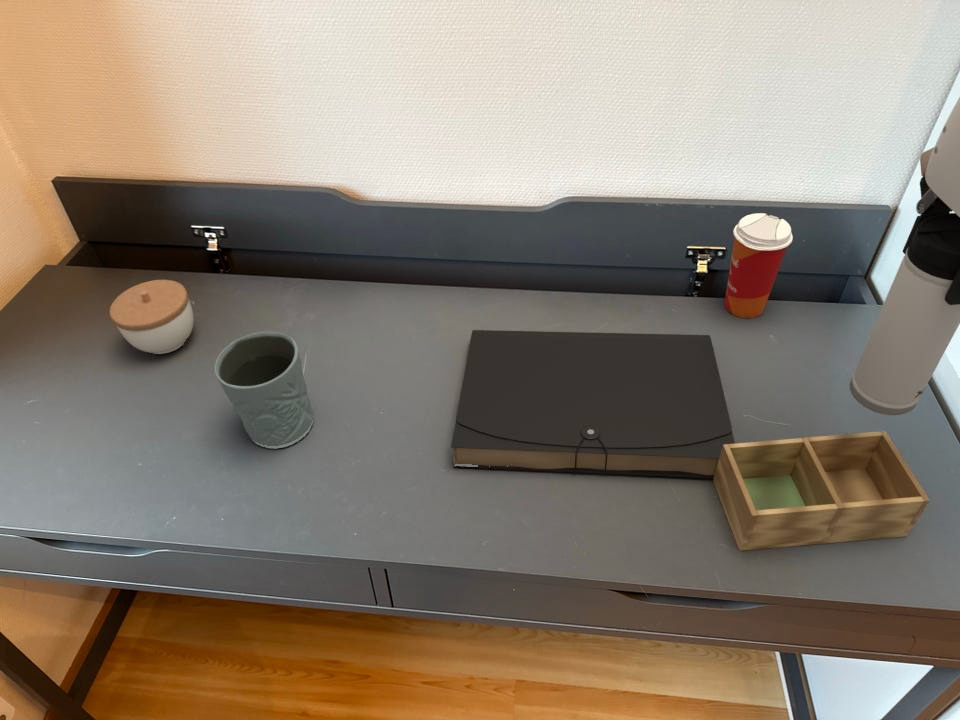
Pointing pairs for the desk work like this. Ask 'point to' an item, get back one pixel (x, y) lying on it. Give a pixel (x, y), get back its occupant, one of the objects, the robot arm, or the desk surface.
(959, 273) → the robot arm
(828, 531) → the storage box
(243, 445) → the desk surface
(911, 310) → the travel mug
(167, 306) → the trinket box
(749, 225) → the paper cup
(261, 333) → the green ceramic cup
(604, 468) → the file folder
